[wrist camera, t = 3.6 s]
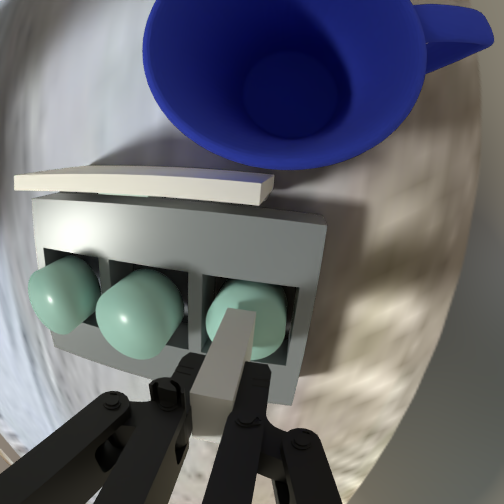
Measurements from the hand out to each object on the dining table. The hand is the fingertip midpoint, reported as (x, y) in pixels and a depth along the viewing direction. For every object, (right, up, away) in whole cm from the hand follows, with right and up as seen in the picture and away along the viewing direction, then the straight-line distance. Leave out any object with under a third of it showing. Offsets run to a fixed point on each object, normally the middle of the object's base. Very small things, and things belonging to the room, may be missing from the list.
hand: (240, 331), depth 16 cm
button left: (-11, +2, +3) cm, 12 cm away
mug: (+5, +14, 0) cm, 14 cm away
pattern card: (-5, +9, +2) cm, 10 cm away
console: (-5, +2, +5) cm, 7 cm away
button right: (+1, +1, +3) cm, 4 cm away
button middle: (-6, +1, +2) cm, 6 cm away
